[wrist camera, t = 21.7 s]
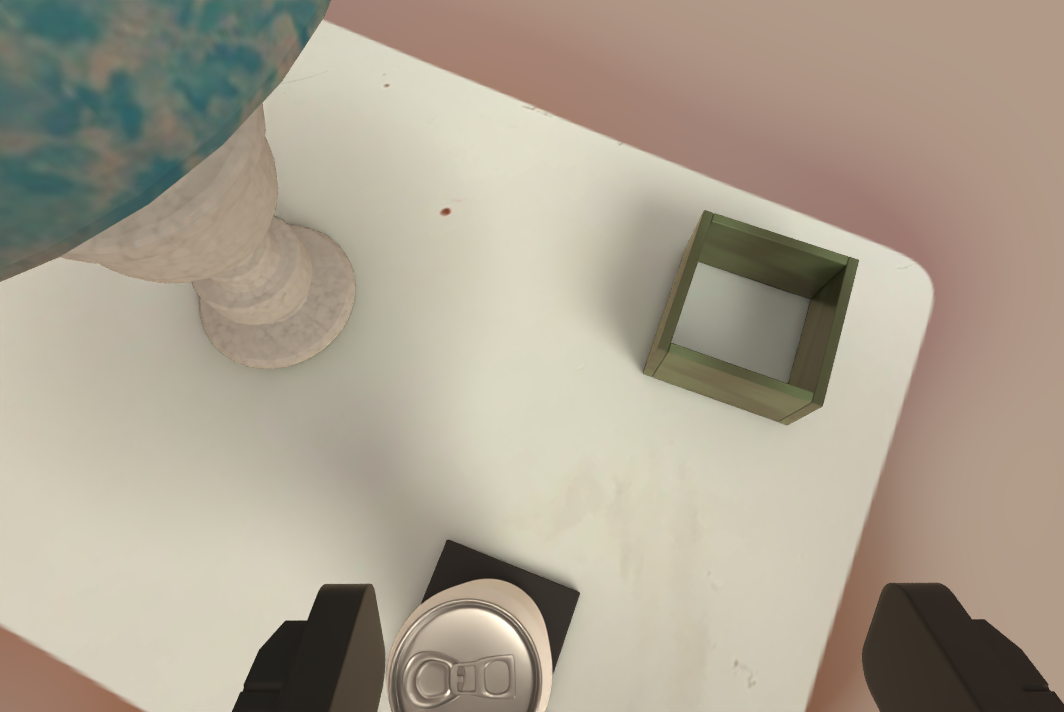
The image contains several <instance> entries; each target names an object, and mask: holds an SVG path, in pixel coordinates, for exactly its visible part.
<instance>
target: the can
mask: <svg viewBox="0 0 1064 712" xmlns="http://www.w3.org/2000/svg"><path fill="white" fill-rule="evenodd" d="M551 686H552V658H551V651H550V645H549V639H548V634H547V629H546V626H545V622H544V619H543V617H542V615H541V613H540V611H539V609H538V607H537V606H536V604H535V603H534V601H533V600H532V599H531V598H530V597H529V596H528V595H527V594H526V593H525V592H524V591H523V590H521V589H520V588H518V587H517V586H515V585H513V584H511V583H508V582H506V581H502V580H497V579H479V580H474V581H470V582H466V583H463V584H460V585H457V586H454V587H451V588H449V589H446V590H444V591H442V592H439V593H438V594H436V595H434V596H432V597H431V598H429V599H428V600H426V601H425V602H424V603H422V604H421V605H420V606H419V607H418V608H417V609H416V610H415V611H414V612H413V613H412V614H411V615H410V616H409V617H408V619H407V620H406V621H405V623H404V624H403V626H402V627H401V629H400V631H399V633H398V635H397V637H396V639H395V641H394V644H393V646H392V649H391V653H390V656H389V661H388V667H387V693H388V699H389V703H390V707H391V711H392V712H545V710H546V707H547V704H548V701H549V697H550V692H551Z"/></svg>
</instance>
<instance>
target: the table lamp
mask: <svg viewBox="0 0 1064 712" xmlns="http://www.w3.org/2000/svg"><path fill="white" fill-rule="evenodd" d="M330 2H331V0H0V282H1V281H3V280H6V279H8V278H10V277H13V276H15V275H18V274H20V273H22V272H25V271H27V270H29V269H32V268H34V267H37V266H39V265H41V264H44V263H46V262H48V261H51V260H53V259H56V258H58V257H62V258H65V259H70V260H76V261H83V262H89V263H95V264H100V265H102V266H104V267H106V268H108V269H111V270H113V271H116V272H118V273H121V274H124V275H126V276H130V277H134V278H138V279H143V280H147V281H154V282H160V283H184V282H192V284H193V287H194V289H195V290H196V292H197V294H198V295H199V296H200V302H199V305H200V318H201V321H202V324H203V327H204V331H205V332H206V334H207V336H208V337H209V339H210V341H211V343H212V344H213V345H214V346H215V347H216V348H217V349H218V350H219V351H220V352H221V353H222V354H224V355H225V356H227V357H228V358H230V359H231V360H233V361H235V362H238V363H240V364H243V365H246V366H250V367H256V368H262V369H267V368H282V367H286V366H291V365H295V364H297V363H300V362H302V361H305V360H307V359H309V358H311V357H313V356H314V355H316V354H317V353H319V352H320V351H322V350H323V349H324V348H326V347H327V346H328V345H329V344H330V343H331V342H332V341H333V340H334V339H335V338H336V337H337V336H338V334H339V333H340V332H341V330H342V329H343V328H344V326H345V324H346V322H347V320H348V318H349V316H350V314H351V311H352V308H353V304H354V300H355V287H356V284H355V278H354V272H353V269H352V267H351V264H350V262H349V259H348V258H347V256H346V255H345V253H344V252H343V250H342V249H341V248H340V247H339V246H338V245H337V244H336V243H335V242H334V241H333V240H332V239H330V238H329V237H327V236H325V235H323V234H322V233H320V232H318V231H315V230H312V229H309V228H307V227H300V226H294V225H287V224H286V223H285V222H284V221H282V220H281V219H279V218H277V217H275V216H273V215H274V212H275V208H276V204H277V195H278V184H277V176H276V169H275V162H274V158H273V155H272V152H271V149H270V147H269V144H268V142H267V139H266V137H265V131H266V129H265V120H264V112H263V104H262V102H263V101H264V100H265V99H266V98H267V97H268V96H269V95H270V94H271V93H272V91H273V90H274V89H275V88H276V87H277V86H278V85H279V84H280V83H281V82H282V81H283V79H284V77H285V76H286V74H287V73H288V71H289V70H290V68H291V67H292V65H293V64H294V62H295V61H296V59H297V58H298V56H299V54H300V53H301V51H302V50H303V48H304V47H305V45H306V44H307V42H308V41H309V39H310V38H311V36H312V35H313V33H314V31H315V30H316V28H317V27H318V25H319V24H320V22H321V21H322V19H323V18H324V16H325V13H326V11H327V9H328V6H329V4H330Z"/></svg>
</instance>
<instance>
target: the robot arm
mask: <svg viewBox="0 0 1064 712" xmlns="http://www.w3.org/2000/svg"><path fill="white" fill-rule="evenodd" d="M862 663H863V670H864V675H865V679H866V682H867V685H868V688H869V690H870V692H871V694H872V696H873V698H874V700H875V702H876V704H877V706H878V708H879V710H880V712H1064V704H1063V703H1062V701H1061V700H1060V699H1059V697H1058V696H1057V695H1056V693H1055V692H1053V691H1050V690H1049V688H1048V683H1047V682H1046V681H1045V679H1044V678H1043V677H1042V675H1041V674H1040V673H1039V671H1038V670H1037V669H1036V668H1035V666H1034V665H1033V664H1032V662H1031V661H1030V660H1029V659H1028V657H1027V656H1026V655H1025V653H1024V652H1023V651H1022V650H1021V649H1020V648H1019V647H1018V646H1017V645H1015V644H1014V643H1013V642H1011V641H1010V640H1009V639H1008V638H1007V637H1006V636H1004V635H1003V634H1002V633H1000V632H999V631H998V630H997V629H995V628H994V627H993V626H992V625H991V624H989V623H988V622H987V621H986V620H984V619H979V620H975V619H974V620H972V619H971V617H970V616H969V615H968V613H967V612H966V611H965V609H964V608H963V606H962V605H961V604H960V602H959V601H958V600H957V598H956V597H955V595H954V594H953V593H952V592H951V591H950V590H949V589H948V588H947V587H946V586H944V585H943V584H940V583H889V584H887V585H885V587H884V588H883V590H882V592H881V595H880V598H879V601H878V604H877V607H876V610H875V613H874V616H873V619H872V622H871V625H870V628H869V631H868V634H867V637H866V640H865V643H864V646H863V652H862ZM384 673H385V647H384V641H383V635H382V629H381V624H380V618H379V612H378V607H377V601H376V595H375V590H374V587H373V585H372V584H324V585H323V586H322V587H321V588H320V590H319V592H318V594H317V596H316V599H315V602H314V604H313V607H312V609H311V612H310V615H309V617H308V620H307V621H285V622H284V623H283V624H282V625H281V626H280V627H279V628H278V629H277V631H276V632H275V633H274V634H273V635H272V636H271V637H270V638H269V640H268V641H267V642H266V643H265V644H264V645H263V646H262V647H261V648H260V650H259V651H258V653H257V656H256V658H255V660H254V663H253V665H252V667H251V669H250V672H249V674H248V676H247V678H246V681H245V683H244V689H243V692H240V694H239V697H238V699H237V701H236V704H235V706H234V708H233V710H232V712H377V710H378V706H379V701H380V697H381V693H382V688H383V681H384Z"/></svg>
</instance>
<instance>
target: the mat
mask: <svg viewBox="0 0 1064 712" xmlns="http://www.w3.org/2000/svg"><path fill="white" fill-rule="evenodd" d="M479 579H497V580H502V581H506V582H508V583H511V584H513V585H515V586H517V587H518V588H520V589H521V590H523V591H524V592H525V593H526V594H527V595H528V596H529V597H530V598H531V599H532V600H533V601H534V603H535V604H536V606H537V607H538V609H539V611H540V613H541V615H542V617H543V619H544V622H545V626H546V629H547V634H548V639H549V645H550V651H551V658H552V675H553V672H554V669H555V666H556V664H557V661H558V658H559V655H560V652H561V649H562V646H563V643H564V640H565V637H566V634H567V631H568V628H569V625H570V622H571V619H572V616H573V613H574V610H575V607H576V604H577V601H578V598H579V595H580V593H579V592H578V591H575V590H573V589H570V588H568V587H565V586H563V585H560V584H558V583H555V582H553V581H550V580H548V579H545V578H543V577H540V576H538V575H535V574H533V573H530V572H528V571H525V570H523V569H520V568H518V567H515V566H513V565H510V564H508V563H505V562H503V561H500V560H498V559H496V558H493V557H491V556H488V555H486V554H483V553H481V552H478V551H476V550H473V549H471V548H468V547H466V546H463V545H461V544H458V543H456V542H453V541H451V540H447V541H446V543H445V546H444V548H443V551H442V553H441V556H440V558H439V561H438V563H437V566H436V568H435V571H434V573H433V576H432V578H431V581H430V583H429V585H428V588H427V590H426V593H425V595H424V598H423V600H422V603H424V602H425V601H426V600H428V599H429V598H431V597H432V596H434V595H436V594H438V593H439V592H442V591H444V590H446V589H449V588H451V587H454V586H457V585H460V584H463V583H466V582H470V581H474V580H479ZM422 603H421V604H422Z"/></svg>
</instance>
